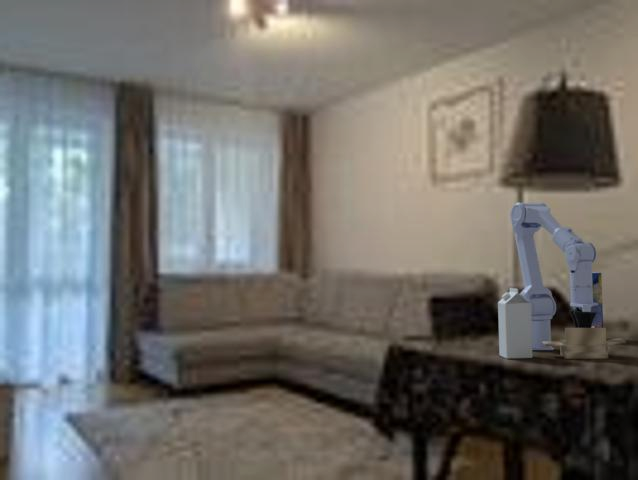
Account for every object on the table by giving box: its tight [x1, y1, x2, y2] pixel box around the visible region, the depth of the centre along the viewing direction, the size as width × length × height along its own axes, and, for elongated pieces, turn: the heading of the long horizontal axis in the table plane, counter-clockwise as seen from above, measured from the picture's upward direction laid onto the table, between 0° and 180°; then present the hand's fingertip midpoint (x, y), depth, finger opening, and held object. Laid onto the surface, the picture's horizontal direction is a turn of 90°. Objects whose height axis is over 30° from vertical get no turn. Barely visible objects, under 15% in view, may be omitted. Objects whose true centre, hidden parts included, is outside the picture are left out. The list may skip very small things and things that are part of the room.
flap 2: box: [606, 337, 627, 346], centre depth 192 cm, size 4×7×1 cm, turn 169°
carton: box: [542, 338, 609, 360], centre depth 196 cm, size 16×13×4 cm
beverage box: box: [591, 271, 604, 328], centre depth 233 cm, size 7×11×22 cm, turn 166°
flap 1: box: [564, 327, 607, 345], centre depth 189 cm, size 10×4×1 cm
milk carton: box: [497, 287, 533, 360], centre depth 196 cm, size 7×7×19 cm
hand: (583, 336), depth 193 cm, fingers open, 5 cm apart
